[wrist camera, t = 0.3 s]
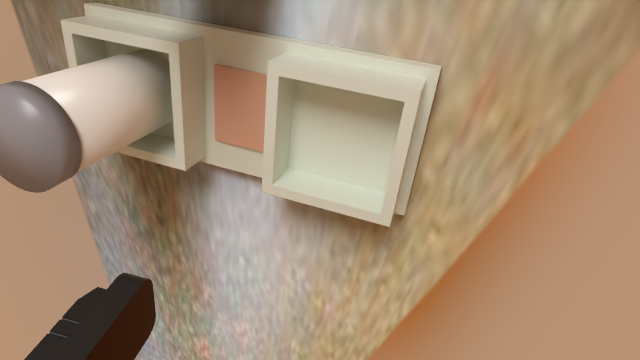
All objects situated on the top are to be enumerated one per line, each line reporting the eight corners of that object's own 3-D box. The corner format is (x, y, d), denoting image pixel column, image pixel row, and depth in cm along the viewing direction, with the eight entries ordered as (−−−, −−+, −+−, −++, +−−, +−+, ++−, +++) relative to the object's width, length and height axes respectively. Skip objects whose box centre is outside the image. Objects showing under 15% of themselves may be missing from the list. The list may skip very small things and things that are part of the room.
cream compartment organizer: (441, 65, 27) (417, 139, 16) (406, 207, 33) (369, 335, 22) (95, 2, 33) (-95, 24, 22) (113, 131, 39) (-33, 200, 28)
